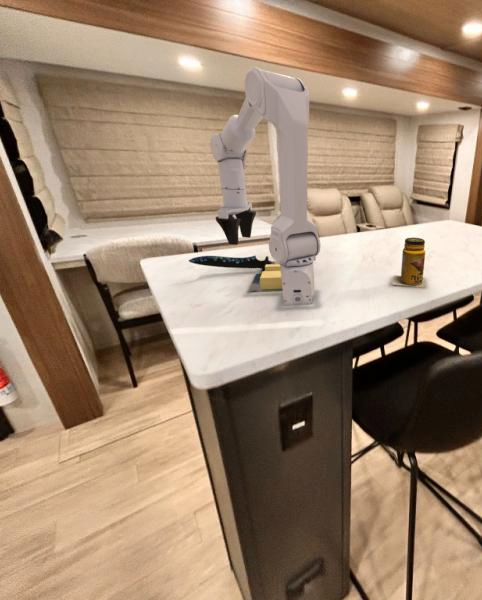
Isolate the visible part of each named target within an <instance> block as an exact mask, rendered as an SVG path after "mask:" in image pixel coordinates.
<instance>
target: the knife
mask: <svg viewBox="0 0 482 600" xmlns="http://www.w3.org/2000/svg"><path fill="white" fill-rule="evenodd" d="M188 262H189V263H191V264H195V265H199V266H206V267H216V268H228V269H261V272H260V273H262V272H263V271H265V266H266V265H269V264H279V263H277V262H276V261H275V260H273V261H271V260H269V256H268V255H266V256H265V257H264V259H263V260H260V259H258V258H257V256H256V255H255V254H254V255H252V256H247V257H234V256H233V257H231V256H222V255H221V256H220V255H201V256H196V257H192V258H191V259H188Z"/></svg>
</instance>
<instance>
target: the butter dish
mask: <svg viewBox="0 0 482 600" xmlns="http://www.w3.org/2000/svg"><path fill="white" fill-rule="evenodd" d="M261 274H262V272H260V273H256V274H255V276H254V277H253V280H252V282H251V284H250V286H249V287H248V290H247V292H246V293H247V294H249V293H251V294H252V293H272V292H273V293H275V292H283V290H282V289H264V290H261V283H260V277H261Z"/></svg>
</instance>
